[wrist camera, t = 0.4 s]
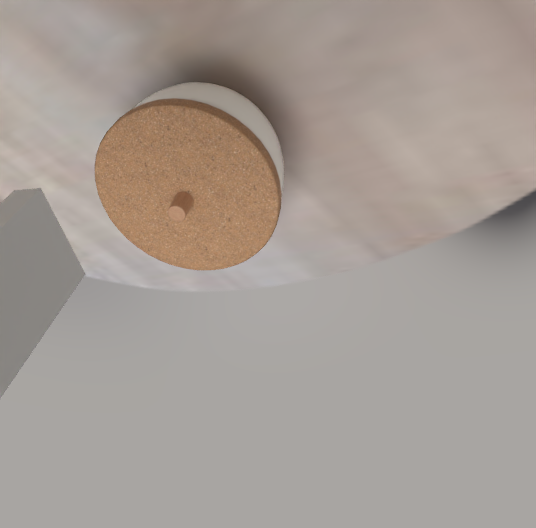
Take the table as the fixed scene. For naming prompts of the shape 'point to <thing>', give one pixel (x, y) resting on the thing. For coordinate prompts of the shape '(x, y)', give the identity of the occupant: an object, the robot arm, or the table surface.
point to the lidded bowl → (193, 176)
